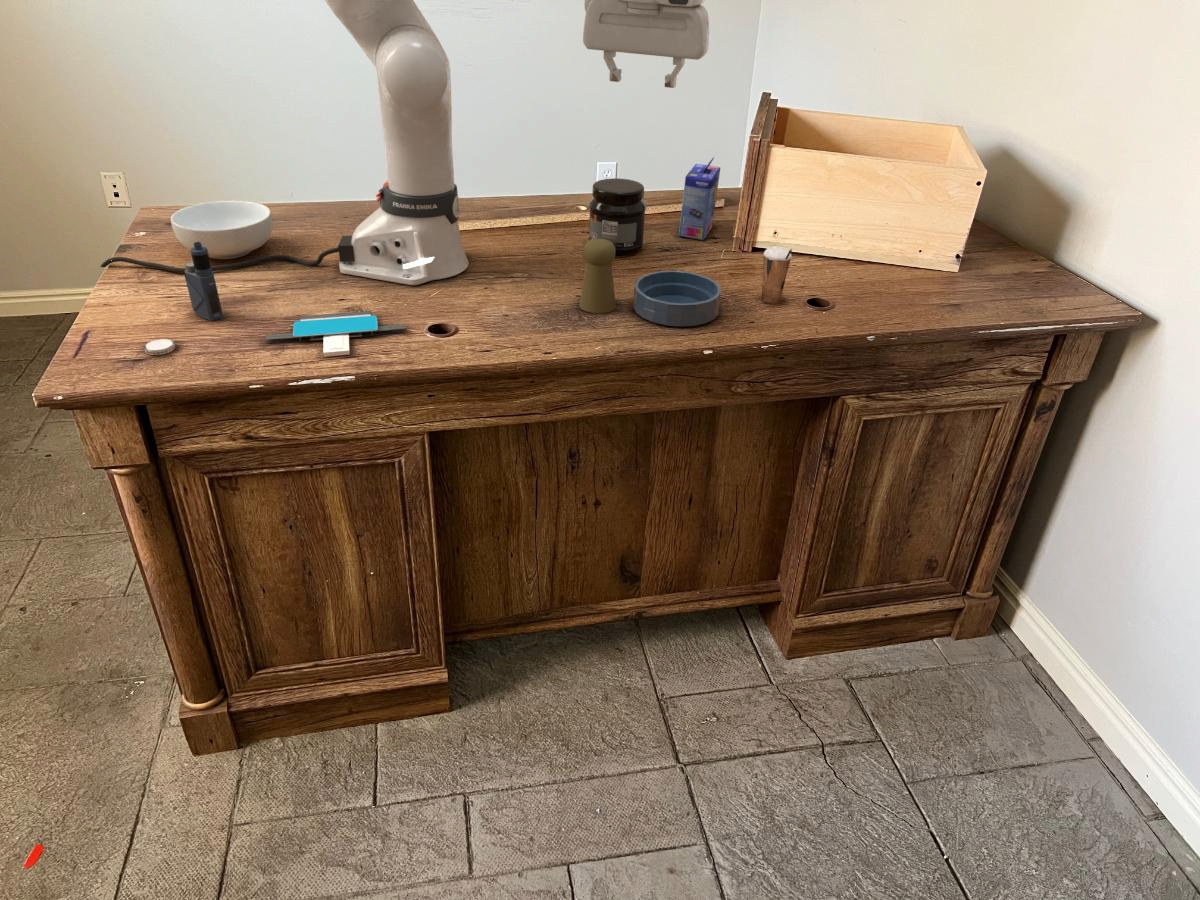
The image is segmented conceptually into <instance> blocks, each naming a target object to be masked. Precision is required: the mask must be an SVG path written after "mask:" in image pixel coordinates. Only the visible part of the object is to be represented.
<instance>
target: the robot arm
mask: <svg viewBox="0 0 1200 900" xmlns="http://www.w3.org/2000/svg"><path fill="white" fill-rule="evenodd" d="M324 1H325V2H326V4H327V6H328V8H329V9H331V12H332V13H333V14H334V15H335V17H336V18H337V19H338V20H339V21H340V22H341V24H342V25H343V26H344V27H345V29H346V30H347V32H348V33H349V34H350V35H351V36H352V38H353V39H354V41H355V42H356V43H357V45H359V47H360V48H361V50H362V51H363V52H364V54H365V55H366V56H367V57H368V60H369V61H370V62H371V63H372V65H373V66H374V69H375V70H376V78H377V85H378V97H379V104H380V105H379V106H380V115H381V124H382V125H381V126H382V135H383V145H384V146H383V147H384V156H385V164H386V165H385V166H386V172H387V173H386V174H387V180H386V181H385V182H384V183H383V184H382V187H381V188H380V189H379V190H378V193H376V194H375V197H376V198H375V199H376V200H375V202H376V203H378V202H379V204H380V207H378V208H377V209H376V210H375V211H374V212H373V213H371V214H370V215H369V216H367V217H366V218H365V219H364V220H363V221H362V222H360V223H359V224H358V225H357V226H356V227H355V229H354V231H353V233H352V235H342V236H341V239H340V240H339V242H338V244H337V247H333V248H330V249H327V250H325V251H323V252H321V253H320V254H319V255H318V257H317V259H316V260H314V261H305V260H302V259H299V258H296V257H295V256H294V257H293V256H290V255H285V254H274V255H265V256H260V257H256V258H252V259H249V260H244V261H239V262H234V263H227V264H221V265H220V264H219V265H213V266H211V267H212V272H217V271H218V272H219V271H225V270H230V269H231V270H232V269H237V268H243V267H247V266H250V265H255V264H259V263H263V262H268V261H276V260H278V261H279V260H281V261H288V262H293V263H296V264H299V265H303V266H308V267H315V266H318V265H320V264H321V263H322V261H323V259H324V258H325V257H327V256H329V255H331V254H335V253H338V256H339V262H338V265H339V266H338V267H339V271H340V273H341V274H344V275H351V276H356V277H362V278H366V279H367V278H368V279H372V280H373V279H374V280H379V281H384V282H391V283H397V284H402V285H408V286H419V285H422V284H424V283H427V282H430V281H435V280H442V279H443V280H444V279H447V278H451V277H454V276H456V275H459V274H461V273H462V272H464V271H466V270H467V269H468V267H469V265H470V264H469V260H468V258H467V254H466V251H465V248H464V243H463V240H462V236H461V235H462V234H461V229H460V224H459V218H460V197H459V193H458V186H457V184H456V183H455V170H454V155H453V154H454V153H453V137H452V135H453V129H452V128H453V125H452V124H453V119H452V117H453V116H452V115H453V114H452V113H453V112H452V109H453V107H452V76H451V75H452V74H451V65H450V61H449V58H448V55H447V53H446V51H445V50H444V47H443V45H442V43H441V42H440V40H439V38H438V36H437V34H436V33H435V32H434V30H433V28H432V27H431V25H430V24H429V22H428V21H427V19H426V17H425V16H424V14H423V13H422V11H421V10H420V9H419V7H418V6H417V4H416V2H415V1H414V0H324ZM705 1H706V0H584V11H585V17H584V22H583V33H582V43H583V45H584V46H585V48H586V49H587V50H593V51H603V60H604V62H605V65H606V66H607V69H608V70H609V76H608V77H609V78H608V79H609V82H612V83H613V82H614V83H619V82H621V81H622V68H618V67H617V64H616V62H615V60H614V58H616V57H617V53H626V54H632V55H633V54H634V55H635V54H636V55H643V56H655V57H666V58H672V65H673V66H674V69H672V71H671V73H667V74H666V75H664V88H669V89H675V88H676V87H677V78H678V75H679V73H680V72H681V70H682V69H683V67H684V66H685V63H686V62H685V61H686V60H701V59H702V58H703V57H704V56H706V54H708V51H709V44H710V21H709V20H710V19H709V13H708V10H707V9H706V7H705V6H704V5H702V4H703V3H704V2H705ZM111 260H112V261H111ZM116 262H122V263H129V264H133V265H137V266H141V267H146V268H154V269H160V270H164V271H169V272H173V273H180V274H182V273H183V274H185V270H186V267H175V266H169V265H165V264H161V263H156V262H149V261H143V260H138V259H135V258H130V257H124V256H114V257H110V258H108V259H106V260H104V261H103V262H102V263H101V264H100V268H106V267H108V266H109V265H110V264H114V263H116Z"/></svg>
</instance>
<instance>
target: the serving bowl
mask: <svg viewBox="0 0 1200 900" xmlns="http://www.w3.org/2000/svg"><path fill="white" fill-rule="evenodd" d="M721 295H722V287H721V286H720V285H719V283H718V282H717V281H715V280H714V279H712V278H710V277H708V276H705V275H703V274H699V273H695V272H690V271H685V270H683V271H682V270H660V271H654V272H650V273H646V274H644V275H642V276H640V277H638V278H637V279H636V280H635V282H634V287H633V302H632V308H633V310H634V311H635V313H636V314H637V315H638V316H640V317H641V318H642V319H644V320H646V321H649V322H651V323H654V324H659V325H664V326H668V327H669V326H670V327H680V328H681V327H695V326H696V327H697V326H700V325H705V324H707V323H710V322H712V321H713V320H715V319H716V318H717V317H718V316H719V313H720V305H721V297H722V296H721Z"/></svg>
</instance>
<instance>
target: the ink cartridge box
mask: <svg viewBox="0 0 1200 900" xmlns="http://www.w3.org/2000/svg"><path fill="white" fill-rule="evenodd" d="M714 159H715V157H712V158H711V160H710V161H709V162H708V163H707V164H701V163H695V164H694V165H693V167H692V168H691V169H690V170H689V171H688V172H687V174H686V175H685V178H684V184H683V185H684V186H683V194H682V195H683V196H682V203H681V213H680V221H679V230H678V237H682V238H688V239H694V240H699V241H704V240H705V238H706V237H707V235H708V234H709V233H710V231H711V229H712V228H713V223H714V217H715V211H716V204H717V196H718V189H719V182H720V175H721V174H720V173H721V167H719V166H714V165H711V164H712V162H713V161H714Z"/></svg>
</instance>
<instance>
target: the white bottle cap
mask: <svg viewBox="0 0 1200 900" xmlns="http://www.w3.org/2000/svg"><path fill="white" fill-rule="evenodd" d="M143 349H144V352H145V354H147V355H151V356H161V355H165V354H168V353H171V352H173V351H174V350H175V349H176V343H175V341H174V340H173V339H171V338H169V339H168V338H159V339H154V340H151V341H148V342H147V343H145V344H144V346H143Z"/></svg>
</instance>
